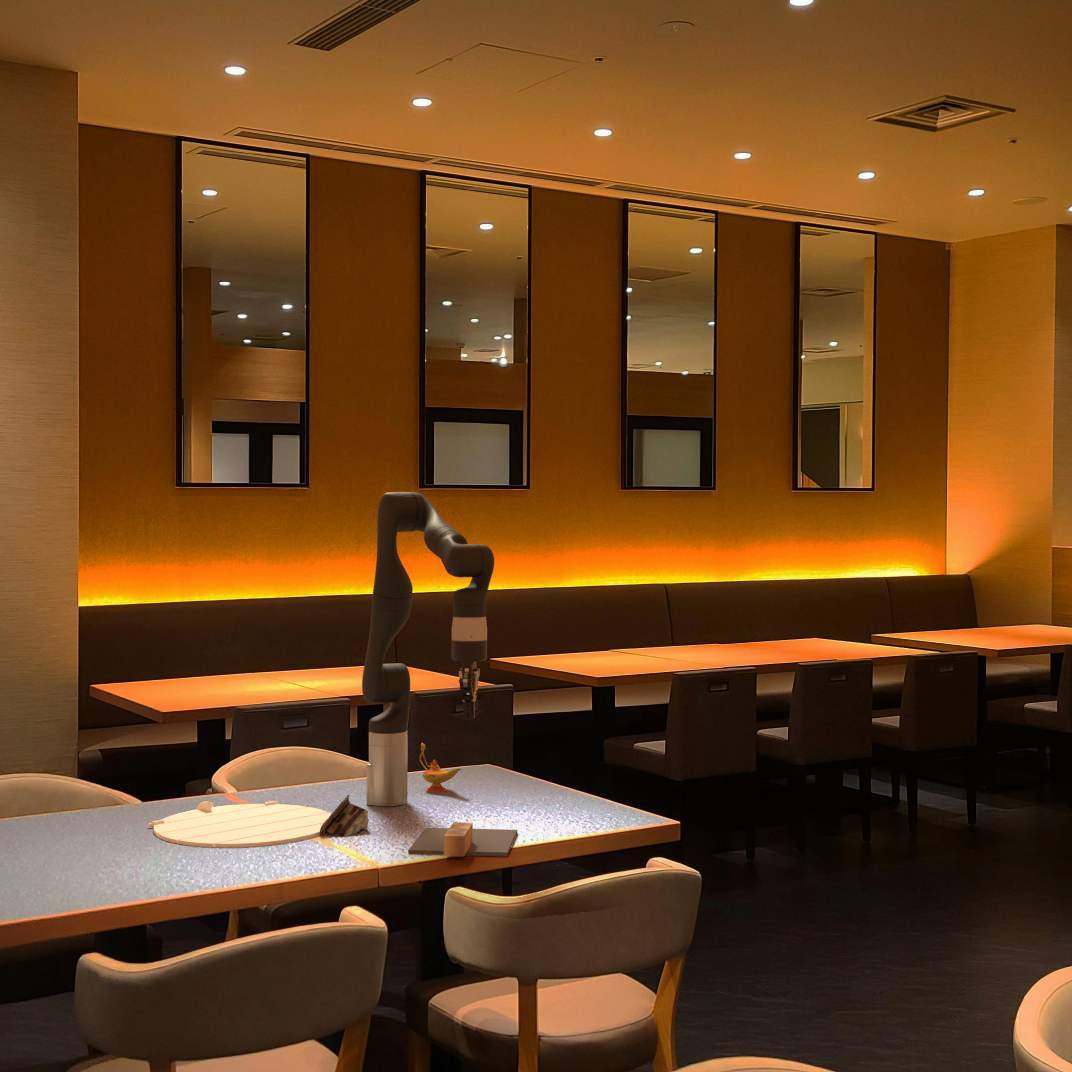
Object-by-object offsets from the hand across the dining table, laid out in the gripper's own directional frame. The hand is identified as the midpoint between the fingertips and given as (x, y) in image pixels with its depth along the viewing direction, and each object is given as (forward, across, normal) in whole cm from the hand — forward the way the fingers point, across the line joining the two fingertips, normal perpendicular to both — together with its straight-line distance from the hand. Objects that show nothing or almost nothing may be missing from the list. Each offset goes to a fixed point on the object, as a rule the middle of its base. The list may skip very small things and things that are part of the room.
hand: (469, 719), depth 278 cm
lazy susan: (+26, +5, +50) cm, 57 cm away
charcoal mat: (+25, -6, 0) cm, 26 cm away
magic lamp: (+25, +48, +14) cm, 56 cm away
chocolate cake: (+26, +2, +27) cm, 37 cm away
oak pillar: (+22, -8, 0) cm, 24 cm away
